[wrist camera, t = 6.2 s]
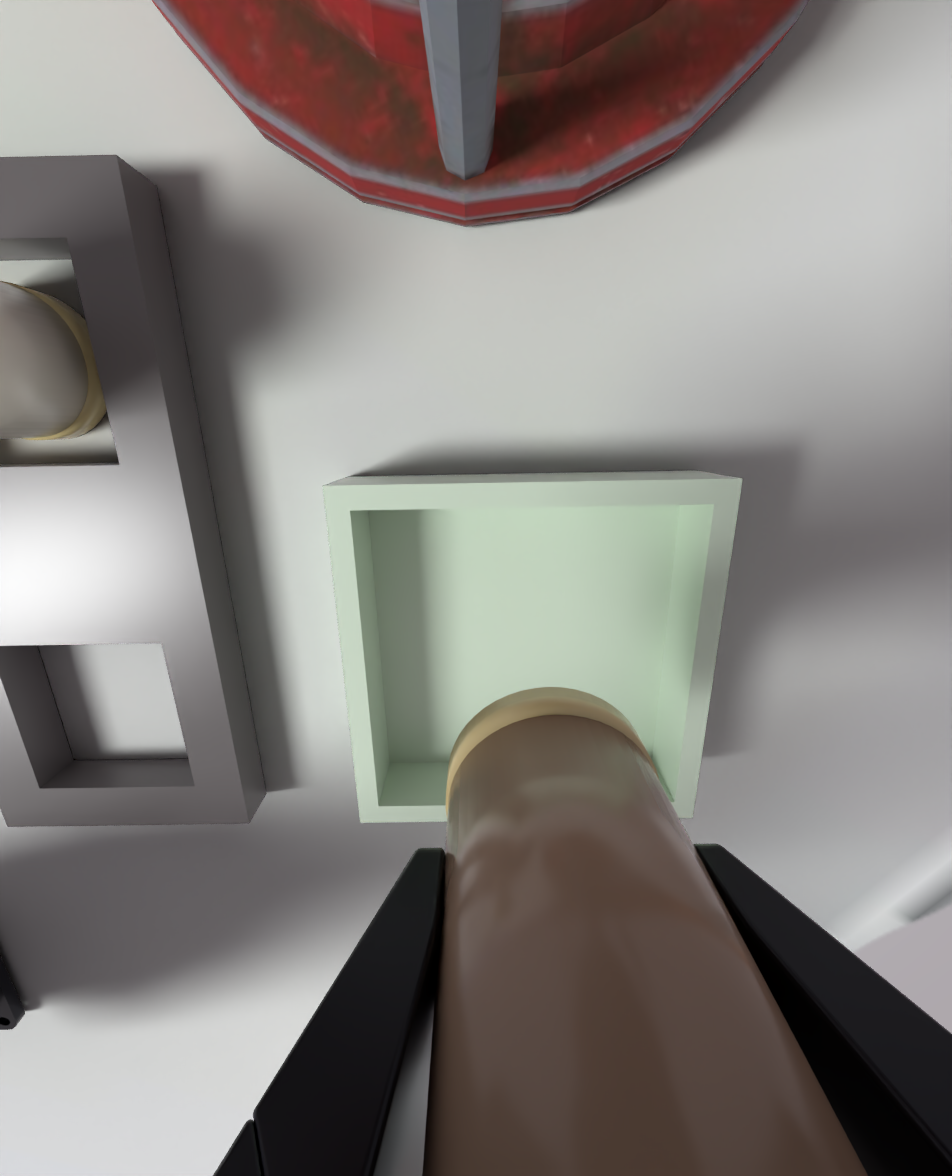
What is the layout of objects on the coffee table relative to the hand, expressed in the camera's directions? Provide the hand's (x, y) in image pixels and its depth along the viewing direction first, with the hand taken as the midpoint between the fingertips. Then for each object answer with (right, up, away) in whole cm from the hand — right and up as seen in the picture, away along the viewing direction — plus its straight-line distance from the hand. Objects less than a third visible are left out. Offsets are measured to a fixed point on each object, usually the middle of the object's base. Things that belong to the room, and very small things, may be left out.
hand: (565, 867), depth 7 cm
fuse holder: (-13, +5, +7) cm, 16 cm away
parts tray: (0, +3, +8) cm, 9 cm away
